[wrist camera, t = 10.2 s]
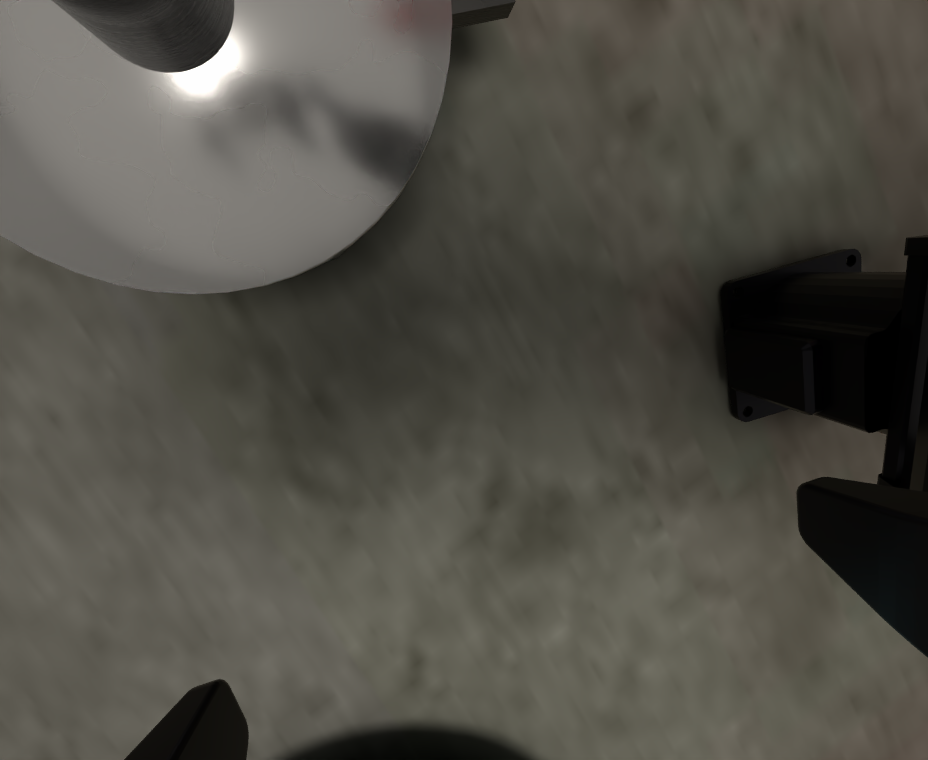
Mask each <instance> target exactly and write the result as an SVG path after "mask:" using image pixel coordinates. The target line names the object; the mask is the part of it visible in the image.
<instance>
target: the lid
mask: <svg viewBox="0 0 928 760" xmlns="http://www.w3.org/2000/svg"><path fill="white" fill-rule="evenodd" d="M451 32H452V7H451V0H0V236H2V237H4V238H5V239H7V240H9V241H11V242H13V243H14V244H16V245H18V246H20V247H21V248H23V249H25V250H27V251H29V252H30V253H32V254H34V255H36V256H38V257H41V258H43V259H45V260H48V261H50V262H52V263H54V264H57V265H59V266H61V267H64V268H66V269H68V270H71V271H73V272H76V273H79V274H82V275H85V276H89V277H92V278H95V279H98V280H102V281H105V282H108V283H111V284H115V285H120V286H126V287H131V288H136V289H141V290H147V291H152V292H165V293H179V294H206V293H225V292H234V291H239V290H245V289H250V288H256V287H261V286H267V285H270V284H273V283H276V282H279V281H282V280H285V279H289V278H292V277H295V276H298V275H300V274H302V273H304V272H306V271H308V270H310V269H312V268H315V267H317V266H319V265H321V264H323V263H325V262H327V261H328V260H330V259H331V258H333V257H334V256H336V255H337V254H339V253H340V252H342V251H343V250H345V249H346V248H348V247H349V246H351V245H352V244H354V243H355V242H356V241H357V240H358V239H359V238H360V237H362V236H363V235H364V234H365V233H366V232H367V231H368V230H369V229H371V228H372V227H373V226H374V225H375V224H376V223H377V222H378V221H379V220H380V219H381V217H382V216H383V215H384V214H385V213H386V212H387V210H388V209H389V208H390V207H391V206H392V205H393V203H394V202H395V201H396V200H397V199H398V197H399V196H400V194H401V192H402V191H403V189H404V188H405V186H406V185H407V183H408V181H409V180H410V178H411V177H412V175H413V174H414V172H415V170H416V168H417V166H418V164H419V162H420V159H421V157H422V155H423V153H424V151H425V149H426V147H427V144H428V142H429V140H430V137H431V134H432V131H433V128H434V125H435V121H436V118H437V115H438V112H439V109H440V106H441V103H442V99H443V94H444V89H445V83H446V78H447V73H448V67H449V62H450V47H451Z"/></svg>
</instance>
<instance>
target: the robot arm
mask: <svg viewBox="0 0 928 760" xmlns="http://www.w3.org/2000/svg"><path fill="white" fill-rule="evenodd" d="M904 255H908V260H907V269H906V272H861V255H860V253H859V251H858V250H856V249H844V250H839V251H835V252H832V253H828V254H824V255H821V256H817V257H814V258H810V259H806V260H803V261H799V262H795V263H792V264H788V265H785V266H781V267H777V268H774V269H770V270H767V271H763V272H759V273H756V274H752V275H749V276H745V277H741V278H738V279H734V280H730V281H728V282H726V283H725V285H724V286H723V288H722V290H721V302H722V313H723V324H724V339H725V349H726V360H727V371H728V382H729V389H730V400H731V410H732V415H733V416H734V417H735V418H736V419H738V420H741V421H744V422H749V421H752V420H755V419H758V418H762V417H765V416H768V415H771V414H774V413H778V412H781V411H784V410H787V409H792V410H795V411H798V412H801V413H804V414H807V415H813V414H814V415H817V416H820V417H823V418H826V419H829V420H832V421H835V422H838V423H841V424H844V425H847V426H850V427H853V428H856V429H859V430H862V431H865V432H868V433H873V432H876V431H877V432H881V433H884V434H887V436H886V445H885V453H884V462H883V470H882V474H879V475H878V482H877V484H871V483H864V482H858V481H851V480H844V479H838V478H831V477H821V478H817V479H814V480H812V481H809V482H806V483H803V484H801V485H800V486H799V487H798V489H797V513H798V528H799V532H800V535H801V536H802V538H803V540H804V541H805V543H806V544H807V545H808V546H809V547H810V548H811V549H812V550H813V551H814V552H815V553H816V554H817V555H818V556H819V557H820V558H821V559H822V560H823V561H824V562H825V563H826V564H827V565H828V566H829V567H830V568H831V569H832V570H834V571H835V572H836V573H837V574H838V575H839V576H840V577H841V578H842V579H843V580H844V581H845V582H846V583H847V584H848V585H849V586H850V587H851V588H852V589H853V590H854V591H855V592H856V593H857V594H858V595H859V596H860V597H861V598H862V599H863V600H864V601H865V602H866V603H867V604H868V605H869V606H871V607H872V608H873V609H874V610H875V611H876V612H877V613H878V614H879V615H880V616H881V617H882V618H883V619H884V620H885V621H886V622H887V623H888V624H889V625H891V626H892V627H893V628H894V629H895V630H896V631H897V632H898V633H899V634H901V635H902V636H903V637H904V638H905V639H906V640H907V641H909V642H910V643H911V644H912V645H913V646H914V647H916V648H917V649H918V650H919V651H920V652H922V653H923V654H924V655H925V656H926V657H928V235H923V236H916V237H908V238H906V243H905V252H904ZM846 259H847V263H846ZM735 288H736V290H737V292H736V295H735V296H733V290H734V289H735ZM745 407H746V411H745V412H744V413H743V410H744V408H745ZM248 739H249V732H248V725H247V722H246V719H245V717H244V715H243V713H242V711H241V709H240V706H239V704H238V702H237V700H236V698H235V696H234V694H233V692H232V690H231V688H230V686H229V685H228V683H227V682H226V681H225V680H222V679H218V680H214V681H211V682H208V683H205V684H202V685H199V686H196V687H194V688H192V689H191V690H189V691H188V692H187V693H186V694H185V695H184V696H183V697H182V699H181V700H180V701H179V702H178V703H177V704H176V705H175V706H174V707H173V708H172V709H171V710H170V711H169V712H168V714H167V715H166V716H165V717H164V718H163V719H162V720H161V721H160V722H159V723H158V724H157V725H156V726H155V727H154V728H153V730H152V731H151V732H150V733H149V734H148V735H147V736H146V737H145V738H144V739H143V740H142V741H141V742H140V743H139V744H138V746H137V747H136V748H135V749H134V750H133V751H132V752H131V753H130V754H129V755H128V756H127V757H126V758H125V759H124V760H246V757H247V749H248Z"/></svg>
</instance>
